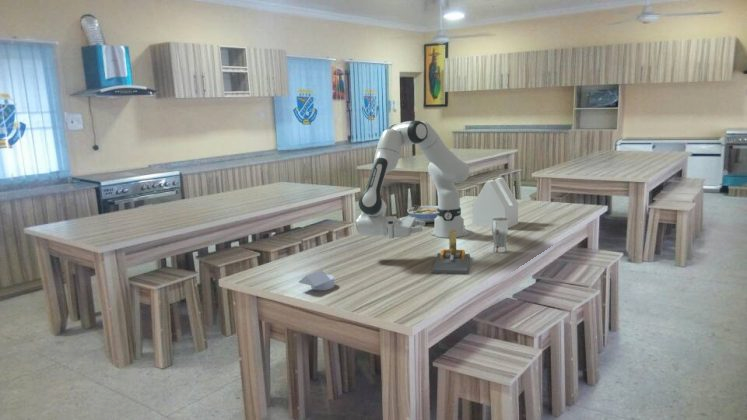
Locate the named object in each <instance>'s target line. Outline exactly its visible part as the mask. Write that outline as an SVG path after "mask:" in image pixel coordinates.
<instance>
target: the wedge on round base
mask: <svg viewBox="0 0 747 420" xmlns="http://www.w3.org/2000/svg"><path fill="white" fill-rule="evenodd" d="M298 283H300V284H304V285H307V286H310V288H311V290H314V291H328V290H331V289H333V288H335V276H334V275H331V274H327V273H326V272H324V271H323V270H322V269H319V270H317V271H315V272H313V273H310V274H307V275H305V276H304V277H302V278H301V279H300V280H299V281H298Z"/></svg>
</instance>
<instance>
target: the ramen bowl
mask: <svg viewBox="0 0 747 420" xmlns="http://www.w3.org/2000/svg"><path fill="white" fill-rule="evenodd" d="M437 208H438V205H420V203H418V204H417V203H415V205H414V206H413V207H410V208H409V207H408V208H407V209H406V210H407V213H408V214H409V217H415V218H416V220H418V221H425V224H432V223H435V218H436V217H437V216H438V215H437Z"/></svg>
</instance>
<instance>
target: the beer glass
mask: <svg viewBox="0 0 747 420" xmlns="http://www.w3.org/2000/svg"><path fill="white" fill-rule="evenodd" d="M491 231H492V237H493V238H492V239H493V250H492V252H493V253H495V254H505V253H507V252H508V249H507V238H508V231H509V228H508V221H507V218H493V220H492V228H491Z"/></svg>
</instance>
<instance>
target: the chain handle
mask: <svg viewBox="0 0 747 420" xmlns="http://www.w3.org/2000/svg"><path fill="white" fill-rule="evenodd" d="M448 243H449V244H448V245H449V246H448V247H449V248H448V249H449V252H446V257H450V261H453V259H454V257H460V252H456V250H457V237H456V231H455V230H450V231H449V238H448Z"/></svg>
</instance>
